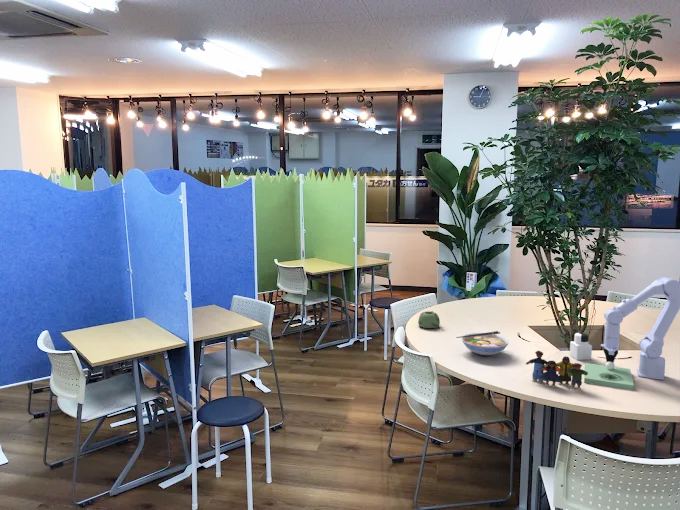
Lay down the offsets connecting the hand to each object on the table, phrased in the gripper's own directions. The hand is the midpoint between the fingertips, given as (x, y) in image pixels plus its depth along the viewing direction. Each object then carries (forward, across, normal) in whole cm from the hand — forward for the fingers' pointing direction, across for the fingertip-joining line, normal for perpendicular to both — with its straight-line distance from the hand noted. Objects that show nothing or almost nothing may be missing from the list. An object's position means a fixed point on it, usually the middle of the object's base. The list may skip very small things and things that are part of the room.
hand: (609, 365), depth 217 cm
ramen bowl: (+3, -1, -55) cm, 55 cm away
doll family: (+3, +25, -21) cm, 33 cm away
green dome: (+4, -37, -94) cm, 101 cm away
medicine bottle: (+3, -15, -12) cm, 20 cm away
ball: (-1, +2, 0) cm, 2 cm away
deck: (+3, +8, -1) cm, 8 cm away
